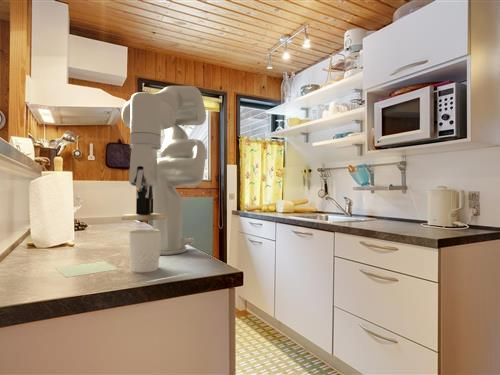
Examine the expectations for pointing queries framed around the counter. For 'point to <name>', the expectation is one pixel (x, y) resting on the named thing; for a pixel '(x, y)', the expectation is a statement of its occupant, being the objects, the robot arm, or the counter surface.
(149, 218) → the lid
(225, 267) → the counter surface
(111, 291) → the counter surface
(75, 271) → the mat
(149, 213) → the robot arm
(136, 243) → the white cup
